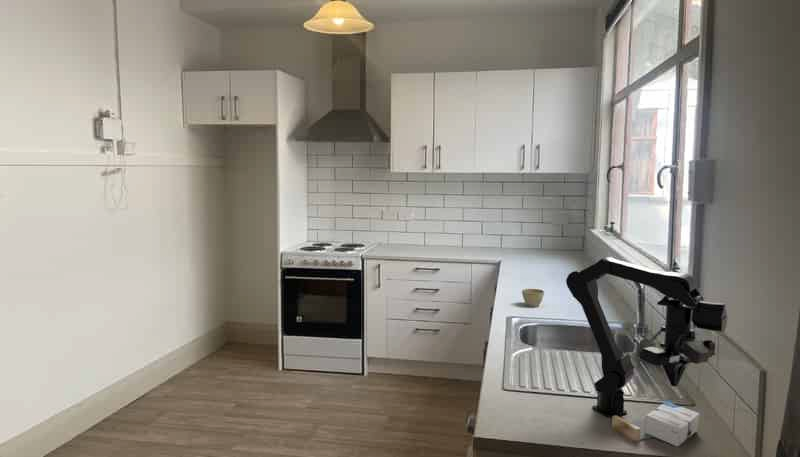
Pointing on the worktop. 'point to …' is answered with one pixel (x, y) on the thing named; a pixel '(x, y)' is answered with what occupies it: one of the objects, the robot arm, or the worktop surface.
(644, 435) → the felt mat
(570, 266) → the worktop surface
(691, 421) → the ink box
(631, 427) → the rail
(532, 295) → the flower pot
